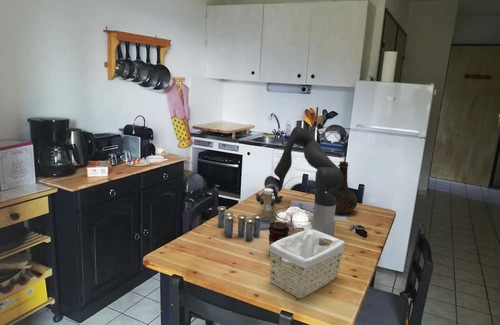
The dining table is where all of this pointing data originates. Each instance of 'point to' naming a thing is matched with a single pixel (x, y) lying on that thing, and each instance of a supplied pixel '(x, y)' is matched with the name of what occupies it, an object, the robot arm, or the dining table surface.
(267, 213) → the sprinkles bottle
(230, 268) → the dining table surface
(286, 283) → the storage basket
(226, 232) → the posts
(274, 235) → the coffee cup
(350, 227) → the dining table surface
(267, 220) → the rubber mat
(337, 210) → the glass bottle
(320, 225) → the robot arm
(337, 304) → the dining table surface
